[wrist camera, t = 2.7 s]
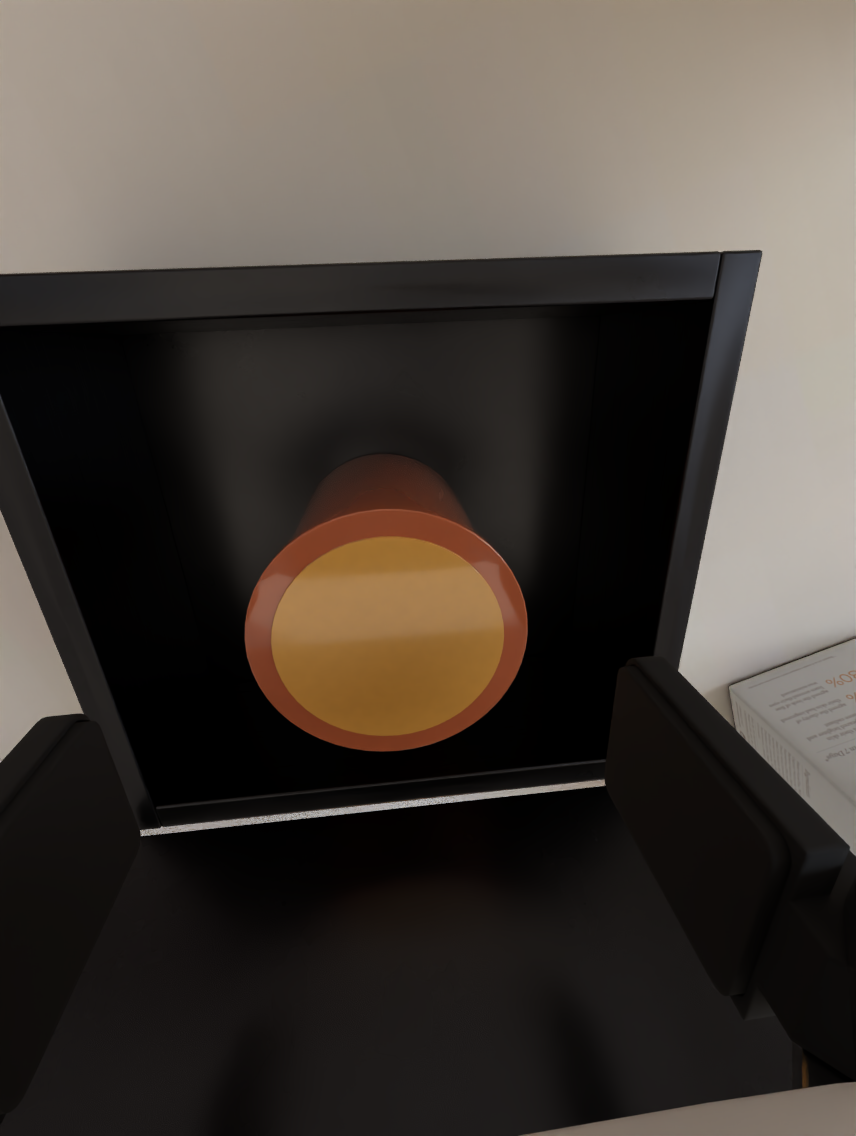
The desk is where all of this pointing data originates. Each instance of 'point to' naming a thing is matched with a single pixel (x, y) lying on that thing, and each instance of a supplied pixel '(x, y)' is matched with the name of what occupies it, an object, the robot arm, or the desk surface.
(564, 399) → the black open box
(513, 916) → the black box lid
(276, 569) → the ramekin
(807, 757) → the small box
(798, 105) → the desk surface
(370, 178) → the desk surface
